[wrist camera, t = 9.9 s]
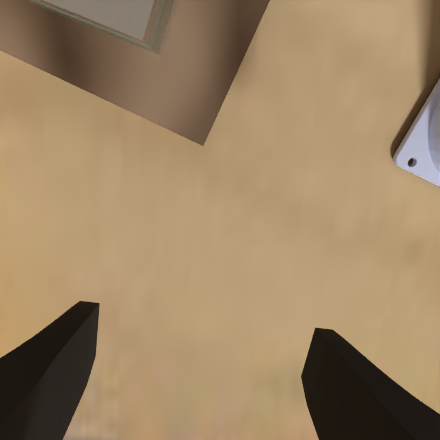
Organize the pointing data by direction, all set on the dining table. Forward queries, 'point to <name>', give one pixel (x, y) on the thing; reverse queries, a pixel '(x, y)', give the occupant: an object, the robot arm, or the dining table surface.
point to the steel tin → (121, 18)
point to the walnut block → (143, 59)
